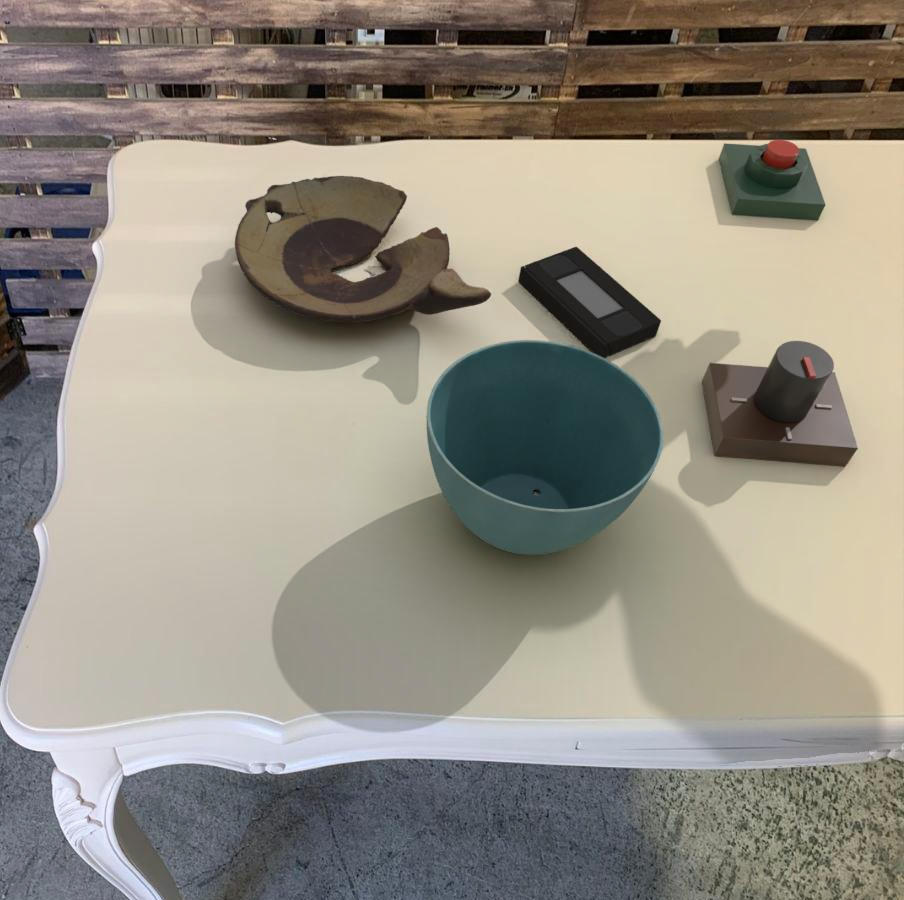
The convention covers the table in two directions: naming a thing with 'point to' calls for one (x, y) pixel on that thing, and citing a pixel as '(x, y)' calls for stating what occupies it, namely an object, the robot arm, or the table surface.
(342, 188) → the broken bowl
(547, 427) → the plant pot
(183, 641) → the table surface
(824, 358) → the knob
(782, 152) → the button
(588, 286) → the vhs tape
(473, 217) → the table surface
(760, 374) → the panel
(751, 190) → the button box
